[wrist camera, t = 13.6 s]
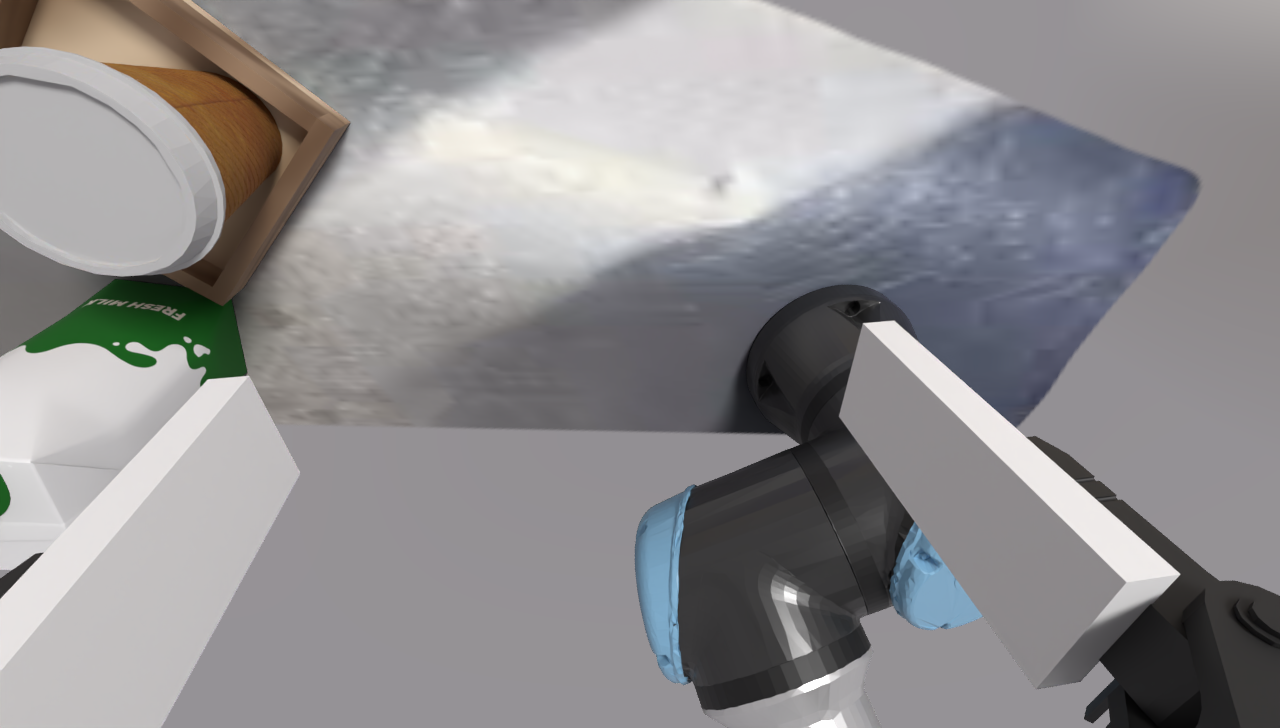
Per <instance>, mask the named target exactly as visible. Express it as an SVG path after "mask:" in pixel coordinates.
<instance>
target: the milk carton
mask: <svg viewBox="0 0 1280 728" xmlns="http://www.w3.org/2000/svg"><path fill="white" fill-rule="evenodd" d="M246 373H247V369H246V364H245V359H244V355H243V350H242V346H241V341H240V336H239V332H238V327H237V322H236V318H235V313H234V308H233V304H232V299H230V300H229V301H228V302H227V303H226V304H224V305H223V306H221V305H219V304H217V303H215V302H214V301H212V300H210V299H208V298H206V297H204V296H202V295H200V294H198V293H197V292H195V291H193V290H191V289H189V288H187V287H179V286H171V285H162V284H154V283H145V282H137V281H128V280H120V279H115V280H114V281H112V282H111V283H110V284H108V285H107V286H106V287H104V288H103V289H102V290H100V291H99V292H98V293H96V294H95V295H94V296H92V297H91V298H90V299H88V300H87V301H86V302H84V303H83V304H82V305H80V306H79V307H78V308H76V309H75V310H74V311H72V312H71V313H70V314H68V315H67V316H66V317H64V318H62V319H61V320H59V321H58V322H56V323H54V324H53V325H51V326H50V327H48V328H46V329H45V330H43V331H42V332H40V333H38V334H37V335H35V336H33V337H32V338H30V339H29V340H27V341H25V342H24V343H22V344H21V345H19V346H17V347H16V348H14V349H12V350H11V351H9V352H8V353H6V354H4V355H3V356H1V357H0V570H13V569H14V568H16V567H17V566H19V565H20V564H21V563H23V562H24V561H26V560H27V559H28V558H30V557H31V556H33V555H34V554H36V553H44V552H45V551H46V550H47V549H48V548H49V547H50V546H51V545H52V544H53V543H54V542H55V541H56V540H57V538H58V537H59V536H60V535H61V534H62V533H63V532H64V531H65V530H66V529H67V528H68V527H69V526H70V525H71V524H72V523H73V522H74V520H75V519H76V518H77V517H78V516H79V515H80V514H81V513H82V512H83V511H84V510H85V509H86V508H87V507H88V506H89V505H90V504H91V503H92V501H93V500H94V499H95V498H96V497H97V496H98V495H99V494H100V493H101V492H102V491H103V490H104V489H105V488H106V487H107V486H108V485H109V483H110V482H111V481H112V480H113V479H114V478H115V477H116V476H117V475H118V474H119V473H120V472H121V471H122V470H123V469H124V468H125V467H126V466H127V464H128V463H129V462H130V461H131V460H132V459H133V458H134V457H135V456H136V455H137V454H138V453H139V452H140V451H141V450H142V449H143V448H144V446H145V445H146V444H147V443H148V442H149V441H150V440H151V439H152V438H153V437H154V436H155V435H156V434H157V433H158V432H159V431H160V430H161V429H162V427H163V426H164V425H165V424H166V423H167V422H168V421H169V420H170V419H171V418H172V417H173V416H174V415H175V414H176V413H177V412H178V411H179V409H180V408H181V407H182V406H183V405H184V404H185V403H186V402H187V401H188V400H189V399H190V398H191V397H192V396H193V395H194V394H195V393H196V392H197V390H198V389H199V388H200V387H201V386H202V385H203V384H204V383H205V382H206V381H207V380H208V379H218V378H230V377H242V376H244V375H245V374H246Z"/></svg>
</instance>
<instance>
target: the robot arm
mask: <svg viewBox="0 0 1280 728" xmlns="http://www.w3.org/2000/svg"><path fill="white" fill-rule="evenodd" d="M746 377H747V384H748V388H749V390H750V393H751V395H752V397H753V399H754V401H755V402H756V404H757V406H758V408H759V410H760V411H761V412H762V414H763V415H764V416H765V417H766V418H767V419H768V420H769V421H770V422H771V423H772V424H773V425H775V426H776V427H777V428H779V429H780V430H781V431H783V432H784V433H785V434H787V435H788V436H789V437H791V438H792V439H793V440H795V441H796V442H797V443H799V444H800V445H798V446H796V447H793V448H791V449H788V450H785V451H782V452H780V453H778V454H775V455H773V456H771V457H768V458H766V459H763V460H761V461H759V462H756V463H754V464H751V465H749V466H747V467H744V468H742V469H739V470H737V471H735V472H732V473H730V474H727V475H725V476H722V477H720V478H717V479H714V480H712V481H709V482H707V483H704V484H702V485H699V486H696V485H691V486H689V487H687V488H686V490H685V491H684V492H682V493H680V494H678V495H675V496H674V497H671V498H669V499H667V500H665V501H663V502H661V503H659V504H656V505H655V506H653V507H651V508H650V509H649V510H648V511H647V512H646V513H645V515H644V516H643V517H642V519H641V521H640V524H639V526H638V530H637V535H636V544H635V572H636V581H637V590H638V596H639V602H640V608H641V612H642V616H643V621H644V625H645V630H646V633H647V637H648V640H649V643H650V646H651V648H652V651H653V653H655V654H656V657H657V661H658V665H659V668H660V669H661V671H662V673H663V674H664V676H665V677H666V678H667V679H668V680H670V681H671V682H673V683H681V684H683V685H685V684H688V683H690V682H691V681H692V682H693V684H694V686H695V689H696V692H697V695H698V698H699V701H700V704H701V707H702V709H703V712H704V714H705V715H707V716H709V717H710V718H712V719H714V720H716V721H717V722H719V723H721V724H722V725H724V726H725V727H727V728H882V727H881V725H880V722H879V720H878V718H877V716H876V713H875V711H874V709H873V707H872V705H871V702H870V700H869V698H868V696H867V694H866V692H865V689H864V683H865V676H866V673H867V670H868V667H869V664H870V660H871V657H872V654H873V649H872V647H871V644H870V642H869V640H868V638H867V636H866V634H865V632H864V630H863V627H862V625H861V623H860V618H862V617H864V616H866V615H868V614H872V613H875V612H878V611H880V610H883V609H886V608H888V607H891V606H894V608H895V610H896V611H897V613H898V614H899V615H900V616H902V617H903V618H905V619H906V620H907V621H908V622H909V623H910V624H912V625H913V626H915V627H918V628H921V629H925V630H935V629H937V628H939V627H941V628H944V629H950V628H954V627H958V626H962V625H964V624H967V623H969V622H972V621H975V620H977V619H979V618H981V617H984V618H985V620H986V621H987V623H988V624H989V625H990V627H991V628H992V630H993V631H994V632H995V634H996V635H997V637H998V638H999V639H1000V640H1001V642H1002V643H1003V645H1004V646H1005V647H1006V649H1007V650H1008V652H1009V653H1010V655H1011V656H1012V657H1013V659H1014V660H1015V662H1016V663H1017V664H1018V666H1019V667H1020V668H1021V670H1022V671H1023V673H1024V674H1025V675H1026V677H1027V678H1028V680H1029V681H1030V682H1031V683H1032V685H1033V687H1034V688H1035V689H1041V688H1047V687H1053V686H1058V685H1064V684H1070V683H1076V682H1081V680H1082V679H1083V678H1084V677H1085V676H1086V675H1087V674H1088V673H1089V672H1090V671H1091V670H1092V669H1093V667H1095V665H1096V664H1097V663H1098V662H1099V661H1101V663H1102V664H1103V665H1104V666H1105V667H1106V669H1107V670H1108V671H1109V672H1110V673H1111V674H1112V676H1113V677H1114V678H1115V679H1114V680H1113V681H1112V682H1111V683H1110V684H1109V685H1108V686H1107V687H1106V688H1105V689H1104V690H1103V691H1102V692H1101V693H1100V694H1099V695H1098V696H1097V697H1096V698H1095V699H1094V700H1093V701H1092V702H1091V703H1090V704H1089V705H1088V706H1087V708H1086V712H1085V717H1084V719H1085V720H1087V721H1089V722H1091V723H1094V722H1095V721H1096V720H1097V719H1098V718H1099V717H1100V716H1101V715H1102V714H1103V713H1104V712H1105V711H1106V710H1107V709H1109V714H1110V723H1109V724H1108V725H1107V727H1106V728H1280V596H1278V595H1276V594H1274V593H1272V592H1270V591H1267V590H1265V589H1263V588H1260V587H1258V586H1254V585H1250V584H1246V583H1242V582H1238V581H1219V580H1217V579H1216V578H1215V577H1213V576H1212V575H1211V574H1209V573H1208V572H1207V571H1206V570H1204V569H1203V568H1202V567H1201V566H1200V565H1198V564H1197V563H1196V562H1195V561H1194V560H1193V559H1191V558H1190V557H1189V556H1188V555H1187V554H1185V553H1184V552H1183V551H1182V550H1181V549H1180V548H1178V547H1177V546H1176V545H1175V544H1174V543H1172V542H1171V541H1170V540H1169V539H1168V538H1167V537H1165V536H1164V535H1163V534H1162V533H1161V532H1159V531H1158V530H1157V529H1156V528H1155V527H1154V526H1152V525H1151V524H1150V523H1149V522H1147V521H1146V520H1145V519H1144V518H1143V517H1142V516H1140V515H1139V514H1138V513H1137V512H1136V511H1135V510H1133V509H1132V508H1131V507H1130V506H1129V505H1128V504H1126V503H1125V502H1124V501H1123V500H1117V498H1116V495H1115V493H1113V492H1112V491H1111V490H1110V489H1109V488H1107V487H1106V486H1105V485H1104V484H1103V483H1102V482H1100V481H1095V479H1094V476H1093V475H1092V474H1091V473H1090V472H1089V471H1087V470H1086V469H1085V468H1084V467H1083V466H1081V465H1080V464H1079V463H1078V462H1077V461H1076V460H1074V459H1073V458H1072V457H1071V456H1070V455H1068V454H1067V453H1065V452H1063V451H1061V450H1060V449H1058V448H1056V447H1054V446H1052V445H1050V444H1049V443H1047V442H1045V441H1043V440H1041V439H1040V438H1038V437H1036V436H1033V437H1025V436H1024V435H1023V434H1022V433H1021V432H1019V431H1018V430H1017V429H1016V428H1015V427H1014V426H1013V425H1012V424H1010V423H1009V422H1008V421H1007V420H1006V419H1005V418H1004V417H1002V416H1001V415H1000V414H999V413H998V412H997V411H996V410H995V409H993V408H992V407H991V406H990V405H989V404H988V403H987V402H986V401H984V400H983V399H982V398H981V397H980V396H979V395H978V394H977V393H975V392H974V391H973V390H972V389H971V388H970V387H969V386H967V385H966V384H965V383H964V382H963V381H962V380H961V379H960V378H958V377H957V376H956V375H955V374H954V373H953V372H952V371H951V370H949V369H948V368H947V367H946V366H945V365H944V364H943V363H941V362H940V361H939V360H938V359H937V358H936V357H935V356H934V355H932V354H931V353H930V352H929V351H928V350H927V349H926V348H925V347H923V346H922V345H921V344H920V343H919V341H918V339H917V336H916V334H915V331H914V329H913V327H912V324H911V322H910V321H909V319H908V318H907V316H906V315H905V314H904V312H903V311H902V310H901V309H900V308H899V307H897V306H896V305H895V304H894V303H893V302H892V301H890V300H889V299H888V298H887V297H886V296H884V295H883V294H881V293H879V292H878V291H876V290H873V289H871V288H868V287H863V286H858V285H836V286H830V287H826V288H822V289H818V290H816V291H813V292H810V293H808V294H806V295H804V296H802V297H800V298H798V299H796V300H794V301H793V302H791V303H790V304H788V305H787V306H785V307H784V308H783V309H782V310H780V311H779V312H778V313H777V314H776V315H775V316H774V317H773V318H772V319H771V320H770V321H769V322H768V323H767V324H766V325H765V326H764V328H763V329H762V330H761V332H760V333H759V335H758V336H757V338H756V340H755V342H754V344H753V346H752V348H751V351H750V354H749V357H748V361H747V368H746ZM299 475H300V471H299V470H298V468H297V466H296V464H295V462H294V460H293V458H292V456H291V455H290V453H289V451H288V449H287V447H286V445H285V443H284V441H283V439H282V438H281V436H280V434H279V432H278V430H277V428H276V426H275V424H274V422H273V420H272V418H271V417H270V415H269V413H268V411H267V409H266V407H265V405H264V403H263V401H262V399H261V398H260V396H259V394H258V392H257V390H256V388H255V386H254V384H253V382H252V381H251V379H250V377H249V376H242V377H230V378H218V379H208V380H207V381H206V382H205V383H204V384H203V385H202V386H201V387H200V388H199V389H198V390H197V392H196V393H195V394H194V395H193V396H192V397H191V398H190V399H189V400H188V401H187V402H186V403H185V404H184V405H183V406H182V407H181V408H180V409H179V411H178V412H177V413H176V414H175V415H174V416H173V417H172V418H171V419H170V420H169V421H168V422H167V423H166V424H165V425H164V426H163V427H162V429H161V430H160V431H159V432H158V433H157V434H156V435H155V436H154V437H153V438H152V439H151V440H150V441H149V442H148V443H147V444H146V445H145V446H144V448H143V449H142V450H141V451H140V452H139V453H138V454H137V455H136V456H135V457H134V458H133V459H132V460H131V461H130V462H129V463H128V464H127V466H126V467H125V468H124V469H123V470H122V471H121V472H120V473H119V474H118V475H117V476H116V477H115V478H114V479H113V480H112V481H111V482H110V483H109V485H108V486H107V487H106V488H105V489H104V490H103V491H102V492H101V493H100V494H99V495H98V496H97V497H96V498H95V499H94V500H93V501H92V503H91V504H90V505H89V506H88V507H87V508H86V509H85V510H84V511H83V512H82V513H81V514H80V515H79V516H78V517H77V518H76V519H75V520H74V522H73V523H72V524H71V525H70V526H69V527H68V528H67V529H66V530H65V531H64V532H63V533H62V534H61V535H60V536H59V537H58V538H57V540H56V541H55V542H54V543H53V544H52V545H51V546H50V547H49V548H48V549H47V550H46V551H45V552H44V553H36V554H34V555H33V556H31V557H30V558H28V559H27V560H26V561H24V562H23V563H21V564H20V565H19V566H17V567H16V568H14V569H13V570H12V571H10V572H9V573H7V574H6V575H5V576H3V577H2V578H0V728H161V727H162V725H163V723H164V721H165V720H166V718H167V716H168V714H169V712H170V711H171V709H172V707H173V705H174V703H175V701H176V700H177V698H178V696H179V694H180V692H181V690H182V689H183V687H184V685H185V683H186V681H187V680H188V678H189V676H190V674H191V672H192V670H193V668H194V667H195V665H196V663H197V661H198V659H199V657H200V655H201V654H202V652H203V650H204V648H205V647H206V645H207V643H208V641H209V639H210V637H211V636H212V634H213V632H214V630H215V628H216V627H217V625H218V623H219V621H220V619H221V618H222V615H223V614H224V612H225V610H226V608H227V607H228V605H229V603H230V601H231V599H232V597H233V596H234V594H235V592H236V590H237V588H238V587H239V585H240V583H241V581H242V579H243V577H244V576H245V574H246V572H247V570H248V568H249V566H250V564H251V563H252V561H253V559H254V557H255V556H256V554H257V552H258V550H259V548H260V546H261V545H262V543H263V541H264V539H265V537H266V535H267V534H268V532H269V530H270V528H271V526H272V525H273V523H274V521H275V519H276V517H277V515H278V514H279V512H280V510H281V508H282V506H283V504H284V503H285V501H286V499H287V497H288V495H289V494H290V492H291V490H292V488H293V486H294V484H295V483H296V481H297V479H298V477H299Z"/></svg>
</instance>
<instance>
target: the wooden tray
mask: <svg viewBox="0 0 1280 728" xmlns="http://www.w3.org/2000/svg"><path fill="white" fill-rule="evenodd" d="M13 47H44V48H50V49H55V50H60V51H65V52H70V53H75V54H78V55H81V56H84V57H87V58H89V59H92V60H95V61H98V62H103V63H115V64H126V65H135V66H149V67H160V68H170V69H182V70H193V71H206V72H213V73H217V74H220V75H223V76H226V77H229V78H231V79H233V80H235V81H237V82H238V83H240V84H242V85H243V86H245V87H246V88H247V89H249V90H250V91H251V92H252V93H253V94H255V95H256V96H257V97H258V98H259V99H260V100H261V101H262V102H263V103H264V105H265V106H266V107H267V108H268V110H269V111H270V112H271V114H272V116H273V117H274V119H275V121H276V124H277V126H278V128H279V131H280V134H281V139H282V156H281V159H280V163H279V164H278V166H277V168H276V170H275V171H274V172H273V173H272V174H271V175H270V176H269V177H268V178H267V179H266V180H265V181H264V182H263V183H262V184H261V185H260V186H259V187H258V188H257V189H256V190H255V191H254V192H253V193H252V194H251V195H250V197H248V199H247V200H246V201H245V202H244V203H243V204H242V205H241V206H240V207H239V208H238V209H237V210H236V211H235V212H234V213H233V214H232V215H231V216H230V217H229V218H228V219H227V220H226V222H225V223H224V224H223V228H222V232H221V235H220V238H219V239H218V241H217V242H216V244H215V245H214V246H213V248H212V249H211V250H210V251H209V252H208V253H207V254H206V255H205V256H204V257H203V258H202V259H201V260H199V261H197V262H196V263H194V264H192V265H191V266H189V267H187V268H184V269H181V270H178V271H175V272H172V273H166V274H163V275H165V276H166V277H168V278H170V279H172V280H174V281H176V282H178V283H180V284H182V285H183V286H185V287H187V288H189V289H191V290H193V291H195V292H197V293H198V294H200V295H202V296H204V297H206V298H208V299H210V300H212V301H214V302H215V303H217V304H219V305H221V306H223V305H224V304H226V303H227V302H228V301H229V300H230V299H231V298H232V297H234V296H235V295H236V294H237V293H238V292H239V291H240V290H241V289H243V288H244V286H245V285H246V283H247V282H248V280H249V279H250V277H251V276H252V274H253V273H254V271H255V269H256V268H257V266H258V265H259V263H260V262H261V260H262V259H263V257H264V256H265V254H266V252H267V251H268V249H269V248H270V246H271V245H272V243H273V242H274V240H275V238H276V237H277V235H278V234H279V232H280V231H281V229H282V228H283V226H284V225H285V223H286V221H287V220H288V218H289V217H290V215H291V214H292V212H293V211H294V209H295V207H296V206H297V204H298V203H299V201H300V200H301V198H302V197H303V195H304V194H305V192H306V190H307V189H308V187H309V186H310V184H311V183H312V181H313V180H314V178H315V176H316V175H317V173H318V172H319V170H320V169H321V167H322V166H323V164H324V163H325V161H326V159H327V158H328V156H329V155H330V153H331V152H332V150H333V149H334V147H335V145H336V144H337V142H338V141H339V139H340V138H341V136H342V135H343V133H344V132H345V130H346V128H347V127H348V125H349V124H350V122H349V121H348V120H347V119H345V118H344V117H343V116H341V115H340V114H339V113H338V112H336V111H335V110H334V109H332V108H331V107H330V106H328V105H327V104H326V103H324V102H323V101H322V100H321V99H319V98H318V97H317V96H315V95H314V94H313V93H311V92H310V91H309V90H307V89H306V88H305V87H304V86H302V85H301V84H300V83H298V82H297V81H296V80H294V79H293V78H292V77H290V76H289V75H288V74H287V73H285V72H284V71H283V70H281V69H280V68H279V67H277V66H276V65H275V64H273V63H272V62H271V61H270V60H268V59H267V58H266V57H264V56H263V55H262V54H260V53H259V52H258V51H256V50H255V49H254V48H253V47H251V46H250V45H249V44H247V43H246V42H245V41H243V40H242V39H241V38H239V37H238V36H237V35H236V34H234V33H233V32H232V31H230V30H229V29H228V28H226V27H225V26H224V25H222V24H221V23H220V22H219V21H217V20H216V19H215V18H213V17H212V16H211V15H209V14H208V13H207V12H205V11H204V10H203V9H202V8H200V7H199V6H198V5H196V4H195V3H194V2H192V1H191V0H0V49H3V48H13Z"/></svg>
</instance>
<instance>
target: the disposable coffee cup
mask: <svg viewBox="0 0 1280 728" xmlns="http://www.w3.org/2000/svg"><path fill="white" fill-rule="evenodd" d="M281 156H282V139H281V134H280V131H279V128H278V126H277V124H276V121H275V119H274V117H273V116H272V114H271V112H270V111H269V110H268V108H267V107H266V106H265V105H264V103H263V102H262V101H261V100H260V99H259V98H258V97H257V96H256V95H255V94H253V93H252V92H251V91H250V90H249V89H247V88H246V87H245V86H243V85H242V84H240V83H238V82H237V81H235V80H233V79H231V78H229V77H226V76H223V75H220V74H217V73H213V72H206V71H193V70H182V69H170V68H160V67H149V66H135V65H126V64H115V63H103V62H98V61H95V60H92V59H89V58H87V57H84V56H81V55H78V54H75V53H70V52H65V51H60V50H55V49H50V48H44V47H13V48H3V49H0V229H2V230H3V231H4V232H6V233H7V234H9V235H10V236H11V237H13V238H14V239H16V240H17V241H18V242H20V243H21V244H23V245H24V246H26V247H28V248H30V249H32V250H34V251H36V252H38V253H40V254H42V255H44V256H46V257H48V258H50V259H52V260H54V261H56V262H58V263H60V264H64V265H67V266H70V267H74V268H77V269H81V270H84V271H88V272H91V273H94V274H102V275H112V276H137V275H157V274H166V273H172V272H175V271H178V270H181V269H184V268H187V267H189V266H191V265H192V264H194V263H196V262H197V261H199V260H201V259H202V258H203V257H204V256H205V255H206V254H207V253H208V252H209V251H210V250H211V249H212V248H213V246H214V245H215V244H216V242H217V241H218V239H219V238H220V235H221V232H222V228H223V224H224V223H225V222H226V220H227V219H228V218H229V217H230V216H231V215H232V214H233V213H234V212H235V211H236V210H237V209H238V208H239V207H240V206H241V205H242V204H243V203H244V202H245V201H246V200H247V199H248V197H250V195H251V194H252V193H253V192H254V191H255V190H256V189H257V188H258V187H259V186H260V185H261V184H262V183H263V182H264V181H265V180H266V179H267V178H268V177H269V176H270V175H271V174H272V173H273V172H274V171H275V170H276V168H277V166H278V164H279V163H280V159H281Z"/></svg>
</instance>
